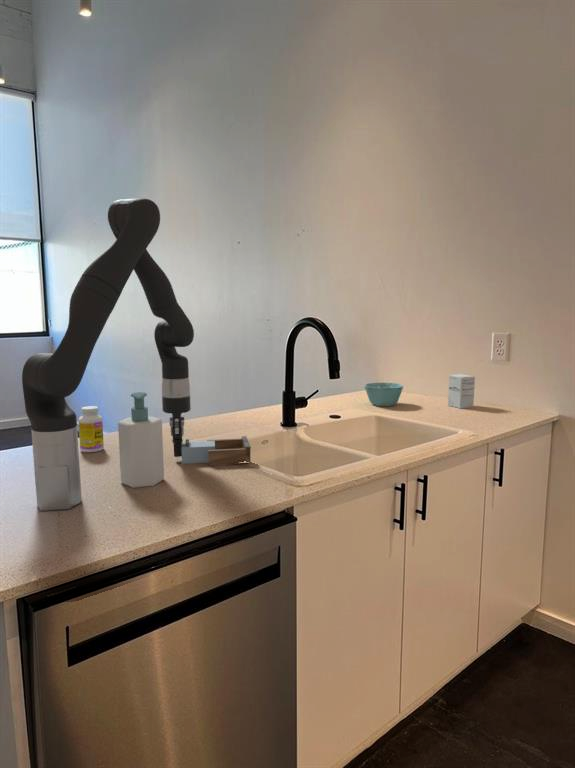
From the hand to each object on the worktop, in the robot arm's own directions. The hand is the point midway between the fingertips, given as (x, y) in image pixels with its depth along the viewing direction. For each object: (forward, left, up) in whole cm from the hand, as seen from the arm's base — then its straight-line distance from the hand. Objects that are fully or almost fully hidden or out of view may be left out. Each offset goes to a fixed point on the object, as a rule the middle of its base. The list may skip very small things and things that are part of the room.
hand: (178, 455), depth 159 cm
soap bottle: (-16, +8, -2) cm, 18 cm away
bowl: (+66, -82, -2) cm, 105 cm away
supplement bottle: (+16, +25, -2) cm, 30 cm away
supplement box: (+56, -111, -2) cm, 124 cm away
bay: (0, -13, -1) cm, 13 cm away
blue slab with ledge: (0, -6, -1) cm, 6 cm away
